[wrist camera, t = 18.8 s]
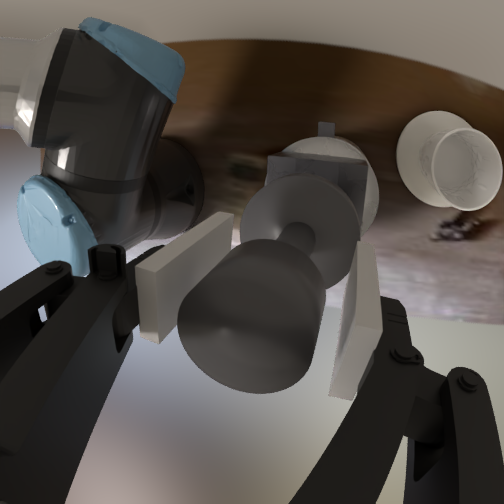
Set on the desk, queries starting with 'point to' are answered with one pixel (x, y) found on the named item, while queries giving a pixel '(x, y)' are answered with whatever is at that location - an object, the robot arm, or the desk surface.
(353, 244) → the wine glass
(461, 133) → the white cup
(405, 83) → the desk surface
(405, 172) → the saucer
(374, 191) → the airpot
